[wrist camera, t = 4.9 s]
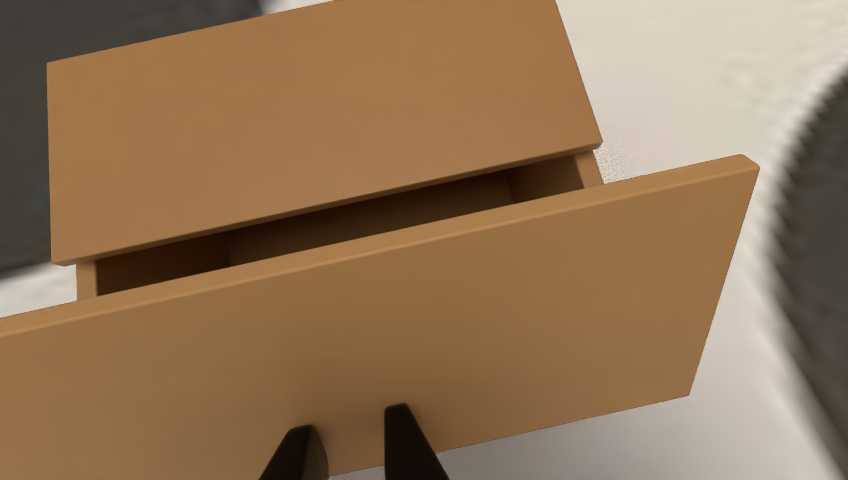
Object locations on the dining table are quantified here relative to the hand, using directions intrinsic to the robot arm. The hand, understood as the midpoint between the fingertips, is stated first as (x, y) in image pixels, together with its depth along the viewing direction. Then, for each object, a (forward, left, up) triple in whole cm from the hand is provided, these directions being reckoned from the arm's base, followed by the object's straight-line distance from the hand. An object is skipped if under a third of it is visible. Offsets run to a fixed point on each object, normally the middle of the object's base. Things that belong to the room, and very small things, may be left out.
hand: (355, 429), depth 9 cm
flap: (+1, -1, +1) cm, 1 cm away
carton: (+2, -4, -10) cm, 12 cm away
